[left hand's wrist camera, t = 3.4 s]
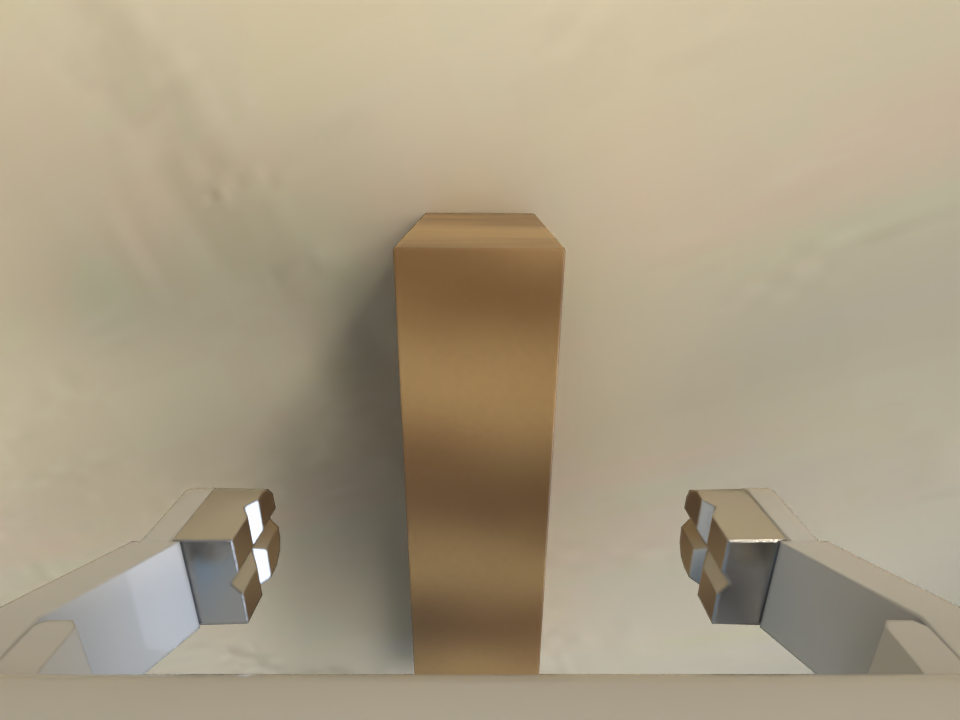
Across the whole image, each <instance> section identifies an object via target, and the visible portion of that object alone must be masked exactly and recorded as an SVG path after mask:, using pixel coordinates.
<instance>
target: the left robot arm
mask: <svg viewBox="0 0 960 720" xmlns="http://www.w3.org/2000/svg"><path fill="white" fill-rule="evenodd" d="M274 510H275V503H274V498H273V493H272V492H271V491H269V490H268V489H234V488H218V489H216V488H192V489H189V490H186V491H185V492H184V494H183V495H182V496H181V497H180V498H179V499H178V500H177V501H176V503H175V504H174V505H173V506H172V507H171V508H170V509H169V510H168V512H167V513H166V514H165V515H164V516H163V517H162V518H161V519H160V521H159V522H158V523H157V524H156V525H155V526H154V527H153V528H152V530H151V531H150V532H149V533H148V534H147V535H146V536H145V537H144V539H143V540H142V541H132V542H130V543H128V544H126V545H124V546H122V547H120V548H118V549H116V550H114V551H112V552H110V553H108V554H106V555H104V556H102V557H100V558H98V559H96V560H94V561H92V562H90V563H88V564H86V565H84V566H82V567H80V568H78V569H76V570H74V571H72V572H70V573H68V574H66V575H64V576H62V577H60V578H58V579H56V580H54V581H52V582H50V583H48V584H46V585H44V586H42V587H40V588H38V589H36V590H34V591H32V592H30V593H28V594H26V595H24V596H22V597H20V598H18V599H16V600H14V601H12V602H10V603H8V604H6V605H4V606H2V607H0V720H960V607H958V606H956V605H954V604H952V603H950V602H948V601H946V600H944V599H942V598H940V597H938V596H936V595H934V594H932V593H930V592H928V591H926V590H924V589H922V588H920V587H918V586H916V585H914V584H912V583H910V582H908V581H906V580H904V579H902V578H900V577H898V576H896V575H894V574H892V573H890V572H888V571H886V570H884V569H882V568H880V567H878V566H876V565H874V564H872V563H870V562H868V561H866V560H864V559H862V558H860V557H858V556H856V555H854V554H852V553H850V552H848V551H846V550H844V549H842V548H840V547H838V546H836V545H834V544H832V543H830V542H828V541H818V540H817V539H816V538H815V536H814V535H813V534H812V533H811V532H810V531H809V530H808V529H807V527H806V526H805V525H804V524H803V523H802V522H801V521H800V519H799V518H798V517H797V516H796V515H795V514H794V513H793V512H792V510H791V509H790V508H789V507H788V506H787V505H786V504H785V503H784V501H783V500H782V499H781V498H780V497H779V496H778V495H777V494H776V492H775V491H773V490H771V489H769V488H744V489H716V490H689V493H688V495H687V497H686V502H685V510H686V512H687V513H688V515H689V517H690V519H689V520H688V521H687V522H686V523H685V524H684V525H683V526H682V527H681V535H680V552H681V558H682V562H683V565H684V568H685V570H686V572H687V574H688V576H689V577H690V578H691V579H692V580H694V581H695V582H697V583H698V584H700V585H699V590H698V596H699V598H700V600H701V602H702V604H703V606H704V608H705V610H706V612H707V614H708V616H709V618H710V620H711V622H712V624H745V625H760V628H762V629H763V630H764V631H765V632H766V633H768V634H769V635H770V636H771V637H772V638H774V639H775V640H776V641H777V642H778V643H779V644H781V645H782V646H783V647H784V648H785V649H787V650H788V651H789V652H790V653H791V654H793V655H794V656H795V657H796V658H797V659H799V660H800V661H801V662H802V663H803V664H805V665H806V666H807V667H808V668H809V669H811V670H812V671H813V672H814V673H815V674H145V673H146V672H147V671H148V670H150V669H151V668H152V667H153V666H154V665H156V664H157V663H158V662H159V661H160V660H162V659H163V658H164V657H165V656H166V655H168V654H169V653H170V652H171V651H172V650H174V649H175V648H176V647H177V646H178V645H180V644H181V643H182V642H183V641H184V640H186V639H187V638H188V637H189V636H190V635H191V634H193V633H194V632H195V631H196V630H197V629H199V628H200V625H214V624H248V622H249V620H250V618H251V616H252V614H253V612H254V610H255V608H256V606H257V604H258V602H259V600H260V598H261V596H262V591H261V585H260V584H262V583H263V582H265V581H266V580H268V579H269V578H270V577H271V576H272V574H273V572H274V570H275V568H276V566H277V561H278V557H279V552H280V533H279V527H278V526H277V525H276V524H275V523H274V522H273V521H272V520H271V519H270V517H271V515H272V513H273V512H274Z"/></svg>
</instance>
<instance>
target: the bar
mask: <svg viewBox="0 0 960 720" xmlns="http://www.w3.org/2000/svg"><path fill="white" fill-rule="evenodd" d="M393 261H394V280H395V300H396V319H397V339H398V358H399V378H400V397H401V417H402V436H403V456H404V475H405V495H406V514H407V534H408V553H409V573H410V592H411V612H412V631H413V651H414V670H415V674H539V664H540V648H541V632H542V616H543V600H544V585H545V569H546V553H547V537H548V521H549V505H550V489H551V473H552V457H553V441H554V425H555V409H556V393H557V377H558V361H559V345H560V329H561V313H562V297H563V281H564V265H565V249H564V248H563V247H562V245H561V244H560V243H559V242H558V241H557V240H556V238H555V237H554V236H553V235H552V234H551V233H550V232H549V230H548V229H547V228H546V227H545V226H544V225H543V223H542V222H541V221H540V220H539V219H538V218H537V217H536V215H535V214H490V213H426V214H425V215H424V216H423V217H422V218H421V219H420V220H419V221H418V222H417V223H416V224H415V225H414V227H413V228H412V229H411V230H410V231H409V232H408V233H407V234H406V235H405V236H404V237H403V238H402V239H401V241H400V242H399V243H398V244H397V245H396V246H395V247H394V248H393Z"/></svg>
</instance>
